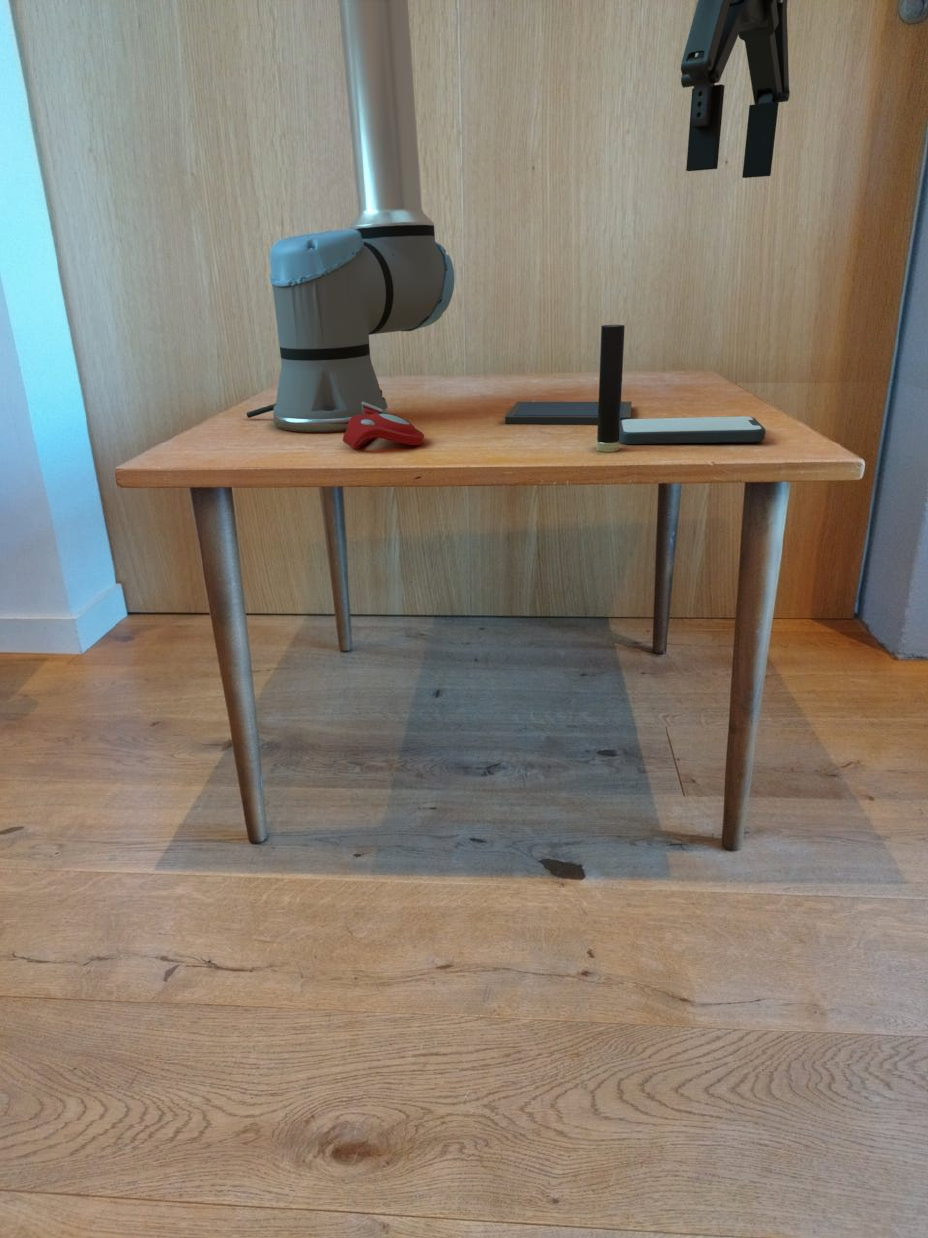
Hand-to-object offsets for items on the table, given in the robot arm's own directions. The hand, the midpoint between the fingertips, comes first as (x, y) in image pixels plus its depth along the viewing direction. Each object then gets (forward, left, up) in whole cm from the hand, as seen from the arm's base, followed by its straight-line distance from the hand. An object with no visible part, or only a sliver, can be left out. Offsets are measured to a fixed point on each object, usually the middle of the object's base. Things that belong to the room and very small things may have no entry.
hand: (730, 173), depth 80 cm
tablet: (-22, +9, -27) cm, 36 cm away
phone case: (-3, +3, -27) cm, 27 cm away
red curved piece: (-33, -16, -27) cm, 46 cm away
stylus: (-8, -7, -27) cm, 29 cm away
